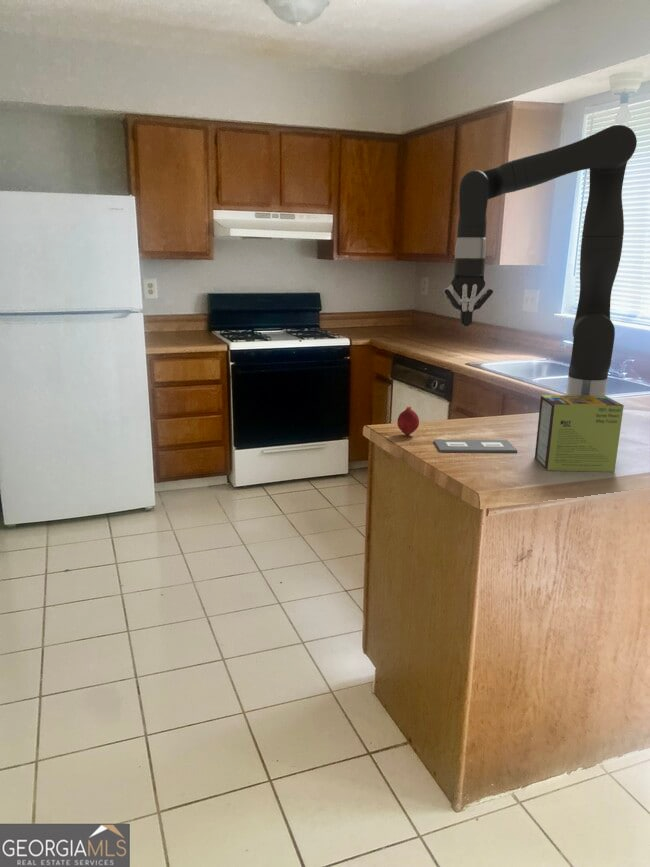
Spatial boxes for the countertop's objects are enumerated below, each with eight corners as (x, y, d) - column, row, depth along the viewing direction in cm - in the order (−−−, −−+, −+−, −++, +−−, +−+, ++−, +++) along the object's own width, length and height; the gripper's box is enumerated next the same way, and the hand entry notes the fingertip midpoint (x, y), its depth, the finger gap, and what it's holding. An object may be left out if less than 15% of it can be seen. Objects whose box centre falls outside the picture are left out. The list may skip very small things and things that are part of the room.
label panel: (506, 442, 166) (507, 439, 166) (517, 452, 158) (517, 449, 157) (433, 441, 166) (433, 439, 166) (440, 451, 157) (440, 449, 157)
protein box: (615, 472, 144) (625, 405, 140) (546, 471, 144) (554, 404, 140) (597, 458, 154) (606, 395, 150) (533, 457, 154) (539, 394, 150)
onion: (417, 438, 169) (419, 409, 166) (395, 437, 170) (397, 408, 167) (419, 433, 174) (420, 404, 172) (397, 431, 175) (399, 403, 173)
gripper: (492, 256, 165) (487, 324, 170) (441, 256, 165) (437, 324, 170) (500, 257, 158) (494, 327, 163) (446, 256, 158) (442, 327, 162)
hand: (465, 325), depth 166 cm, fingers closed
